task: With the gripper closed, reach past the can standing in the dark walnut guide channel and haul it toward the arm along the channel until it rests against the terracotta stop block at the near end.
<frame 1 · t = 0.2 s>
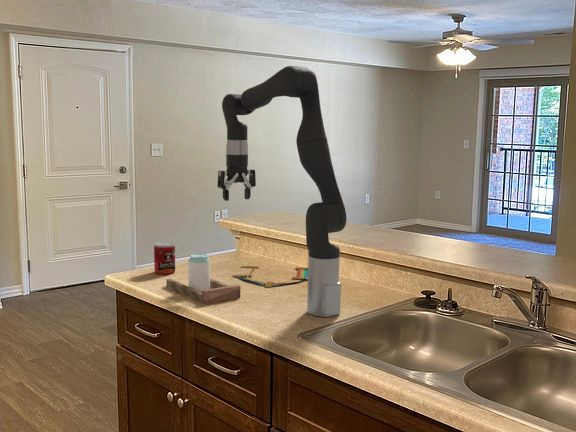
hand: (236, 199, 215), 29 cm above the counter, tool pointing down, fingers open, 8 cm apart
canned food: (164, 273, 230), on the counter
ribbon cable: (272, 278, 226), on the counter
channel: (202, 291, 205), on the counter
can: (199, 291, 206), resting in channel
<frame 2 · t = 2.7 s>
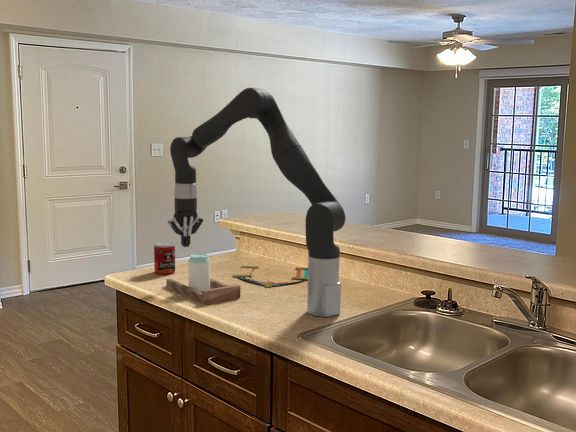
hand: (185, 246, 211), 13 cm above the counter, tool pointing down, fingers closed
nothing on the counter moved.
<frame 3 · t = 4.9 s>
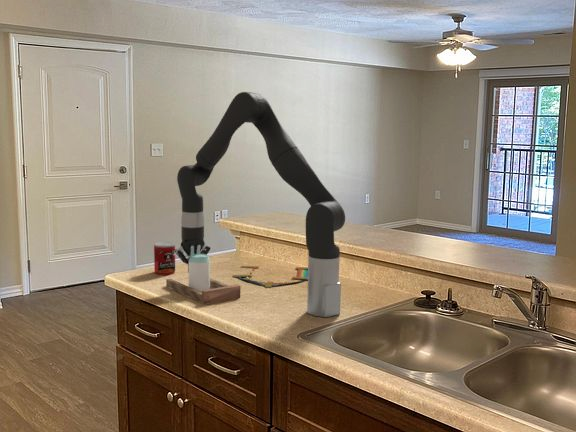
hand: (192, 275, 209), 4 cm above the counter, tool pointing down, fingers closed
can: (199, 291, 206), resting in channel, touching gripper
everything else where it was.
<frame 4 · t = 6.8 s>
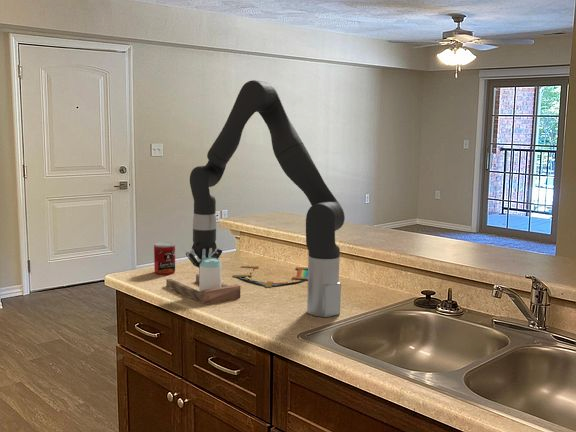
hand: (204, 278, 203), 5 cm above the counter, tool pointing down, fingers closed
can: (210, 296, 200), resting in channel, touching gripper
everything else where it was.
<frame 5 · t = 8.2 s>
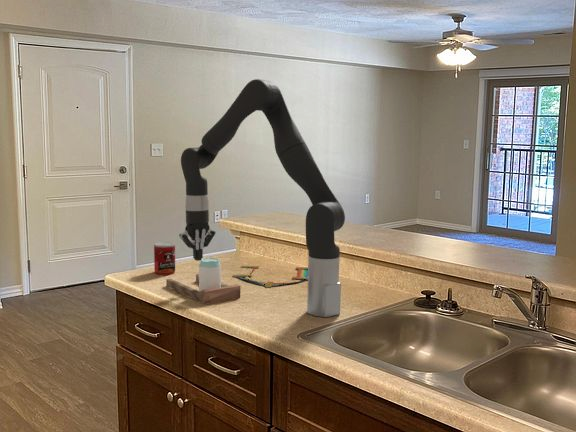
hand: (198, 260, 205), 10 cm above the counter, tool pointing down, fingers closed
can: (210, 296, 200), resting in channel
everything else where it was.
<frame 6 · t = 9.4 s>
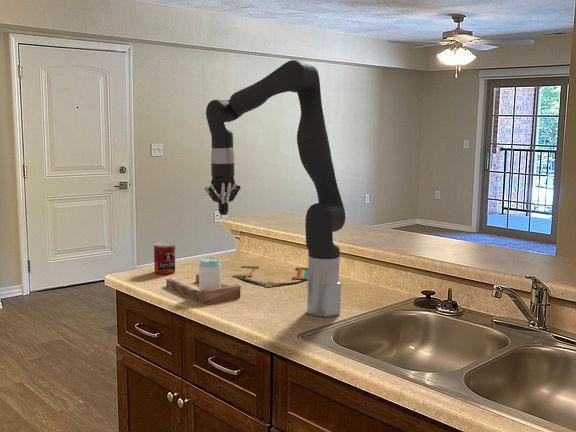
hand: (223, 214, 204), 26 cm above the counter, tool pointing down, fingers closed
nothing on the counter moved.
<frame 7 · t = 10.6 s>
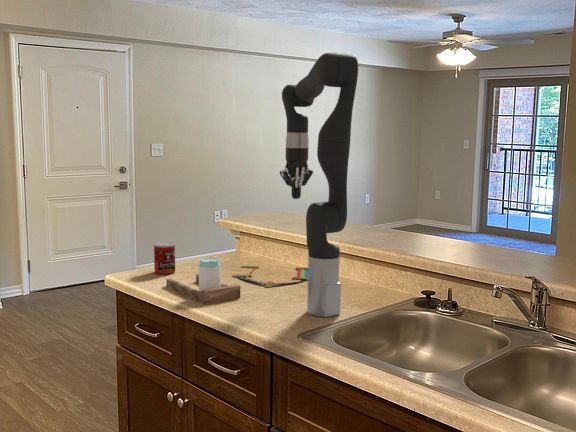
hand: (296, 198, 206), 31 cm above the counter, tool pointing down, fingers closed
nothing on the counter moved.
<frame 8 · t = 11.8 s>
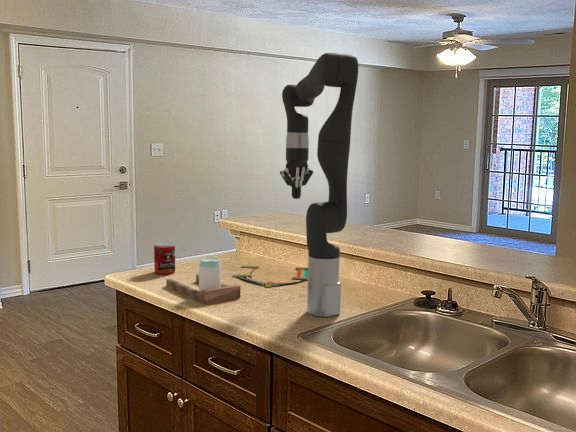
hand: (296, 198, 206), 31 cm above the counter, tool pointing down, fingers closed
nothing on the counter moved.
at the end: can inside the target area (1.2 cm from its centre), resting in channel; can tilted 0°; can moved 7.7 cm from its start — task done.
